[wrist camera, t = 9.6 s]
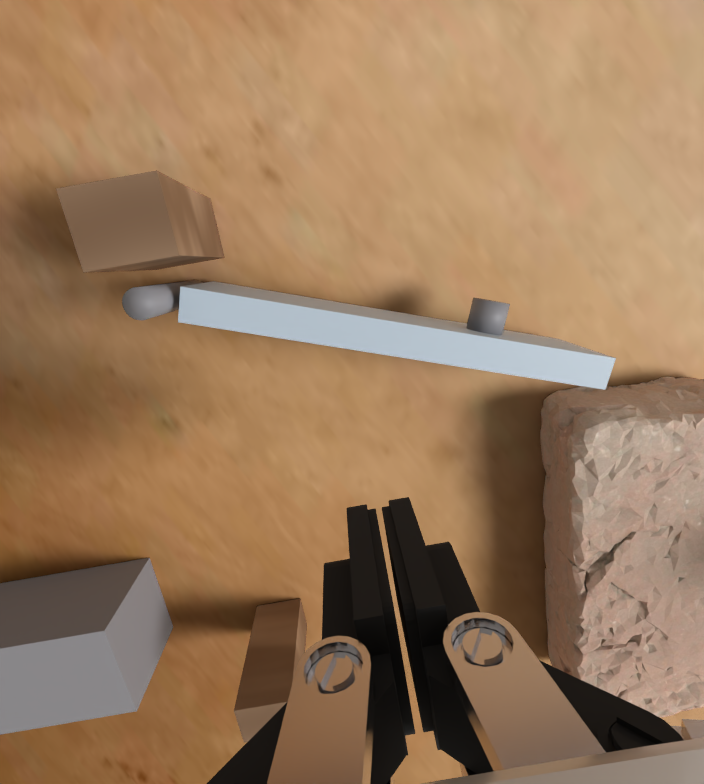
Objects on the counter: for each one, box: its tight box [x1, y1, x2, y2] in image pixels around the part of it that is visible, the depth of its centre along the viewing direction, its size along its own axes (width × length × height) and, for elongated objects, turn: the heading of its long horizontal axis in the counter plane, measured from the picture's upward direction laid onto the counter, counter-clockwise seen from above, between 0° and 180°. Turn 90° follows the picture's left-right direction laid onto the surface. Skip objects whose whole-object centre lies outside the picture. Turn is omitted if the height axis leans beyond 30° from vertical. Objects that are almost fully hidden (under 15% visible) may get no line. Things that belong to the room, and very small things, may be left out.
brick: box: [540, 377, 704, 717], centre depth 22 cm, size 17×8×5 cm, turn 8°
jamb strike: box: [234, 599, 307, 742], centre depth 22 cm, size 2×2×6 cm
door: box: [122, 280, 616, 390], centre depth 17 cm, size 17×2×6 cm, turn 80°
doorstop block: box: [0, 558, 173, 734], centre depth 22 cm, size 4×8×5 cm, turn 99°
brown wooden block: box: [56, 171, 224, 272], centre depth 16 cm, size 2×3×6 cm
